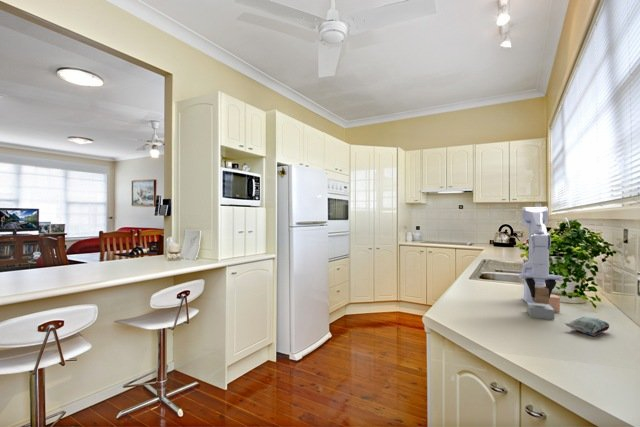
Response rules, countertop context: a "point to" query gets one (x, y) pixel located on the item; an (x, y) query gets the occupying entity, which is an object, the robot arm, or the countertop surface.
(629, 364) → the countertop surface
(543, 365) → the countertop surface
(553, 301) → the terracotta block
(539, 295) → the walnut block
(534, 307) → the slate base block
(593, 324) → the packaged food
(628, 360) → the countertop surface
